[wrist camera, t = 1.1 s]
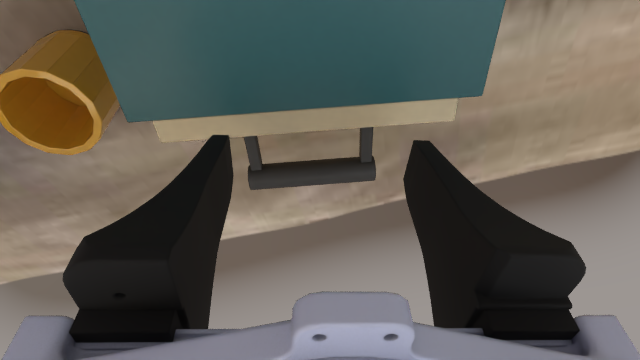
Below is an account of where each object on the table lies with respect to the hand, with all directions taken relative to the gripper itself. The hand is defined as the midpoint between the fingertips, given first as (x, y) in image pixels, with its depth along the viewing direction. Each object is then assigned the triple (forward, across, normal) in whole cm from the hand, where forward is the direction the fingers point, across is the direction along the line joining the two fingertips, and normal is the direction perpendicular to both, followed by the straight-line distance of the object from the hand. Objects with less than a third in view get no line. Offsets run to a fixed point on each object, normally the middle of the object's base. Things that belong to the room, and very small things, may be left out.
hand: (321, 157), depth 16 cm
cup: (+9, +13, +2) cm, 16 cm away
